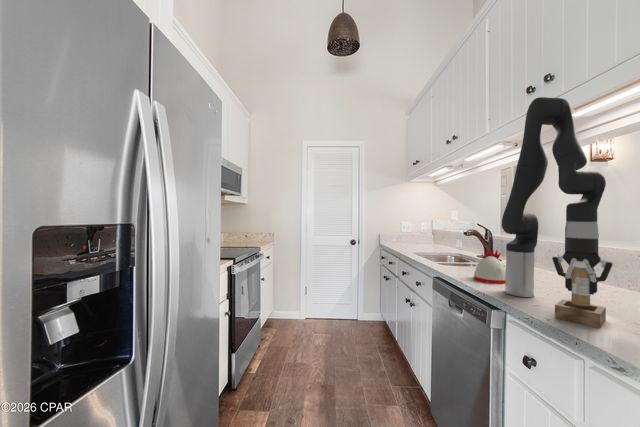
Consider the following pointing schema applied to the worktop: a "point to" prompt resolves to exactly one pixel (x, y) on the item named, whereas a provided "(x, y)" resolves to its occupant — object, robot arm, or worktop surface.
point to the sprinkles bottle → (580, 284)
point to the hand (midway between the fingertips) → (580, 292)
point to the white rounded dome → (490, 269)
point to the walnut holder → (580, 313)
